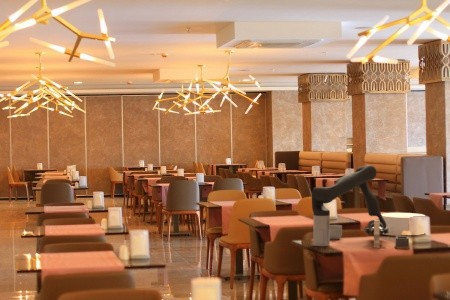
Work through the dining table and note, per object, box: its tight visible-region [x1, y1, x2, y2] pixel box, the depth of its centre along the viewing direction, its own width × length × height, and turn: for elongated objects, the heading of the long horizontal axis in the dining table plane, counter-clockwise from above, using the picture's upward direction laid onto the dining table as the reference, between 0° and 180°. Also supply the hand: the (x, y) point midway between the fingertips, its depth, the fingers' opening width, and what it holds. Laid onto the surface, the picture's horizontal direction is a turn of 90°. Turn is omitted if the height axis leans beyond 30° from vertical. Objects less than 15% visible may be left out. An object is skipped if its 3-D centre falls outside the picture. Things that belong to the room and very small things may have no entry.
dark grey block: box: [394, 236, 411, 250], centre depth 508 cm, size 10×8×6 cm
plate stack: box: [381, 212, 426, 237], centre depth 571 cm, size 28×28×12 cm
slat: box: [373, 219, 381, 248], centre depth 511 cm, size 5×3×15 cm, turn 170°
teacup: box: [330, 224, 343, 240], centre depth 545 cm, size 14×11×8 cm
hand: (376, 232), depth 508 cm, fingers open, 4 cm apart
